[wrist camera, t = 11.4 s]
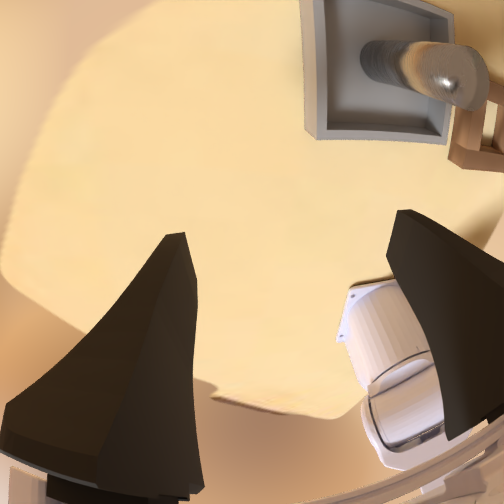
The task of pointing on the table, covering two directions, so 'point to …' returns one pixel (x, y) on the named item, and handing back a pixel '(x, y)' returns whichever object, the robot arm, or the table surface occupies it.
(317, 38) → the tray
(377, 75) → the pin
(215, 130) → the table surface
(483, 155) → the socket
